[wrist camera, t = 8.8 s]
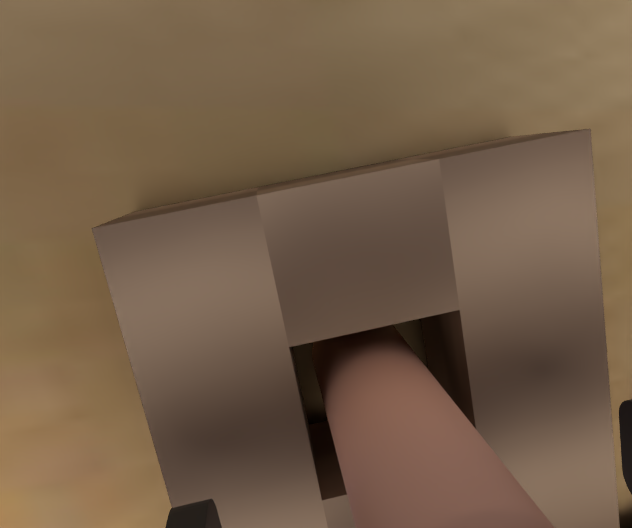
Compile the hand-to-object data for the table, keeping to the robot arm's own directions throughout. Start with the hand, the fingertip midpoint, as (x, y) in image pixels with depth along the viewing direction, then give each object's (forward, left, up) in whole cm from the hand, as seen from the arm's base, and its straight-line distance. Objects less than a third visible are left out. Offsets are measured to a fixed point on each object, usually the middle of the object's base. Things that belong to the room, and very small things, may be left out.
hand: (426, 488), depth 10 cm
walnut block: (0, 0, -8) cm, 8 cm away
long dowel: (0, 0, -8) cm, 8 cm away
